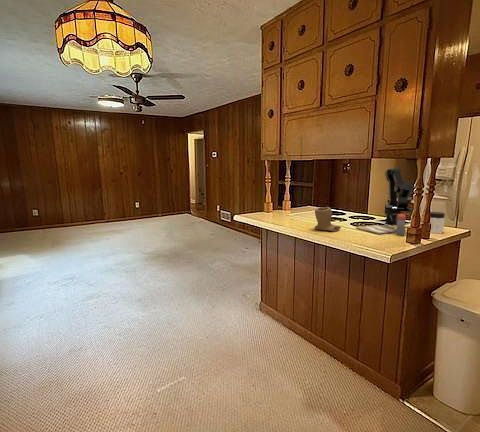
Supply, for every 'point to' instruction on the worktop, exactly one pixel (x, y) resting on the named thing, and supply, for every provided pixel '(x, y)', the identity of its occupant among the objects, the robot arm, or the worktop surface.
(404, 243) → the worktop surface
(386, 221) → the robot arm
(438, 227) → the jar
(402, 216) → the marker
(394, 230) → the brown framed square board
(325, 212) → the brown boot-shaped piece
